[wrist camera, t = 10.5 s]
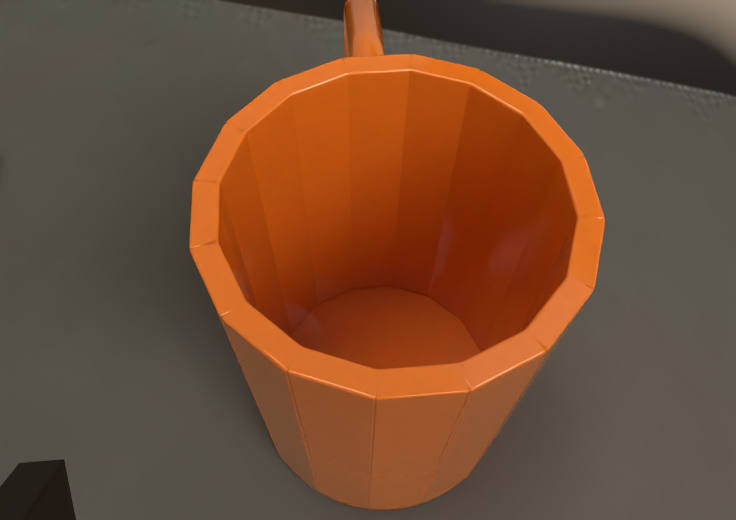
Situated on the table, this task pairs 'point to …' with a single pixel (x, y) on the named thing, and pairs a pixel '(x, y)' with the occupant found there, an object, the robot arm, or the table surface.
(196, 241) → the orange mug
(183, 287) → the table surface
